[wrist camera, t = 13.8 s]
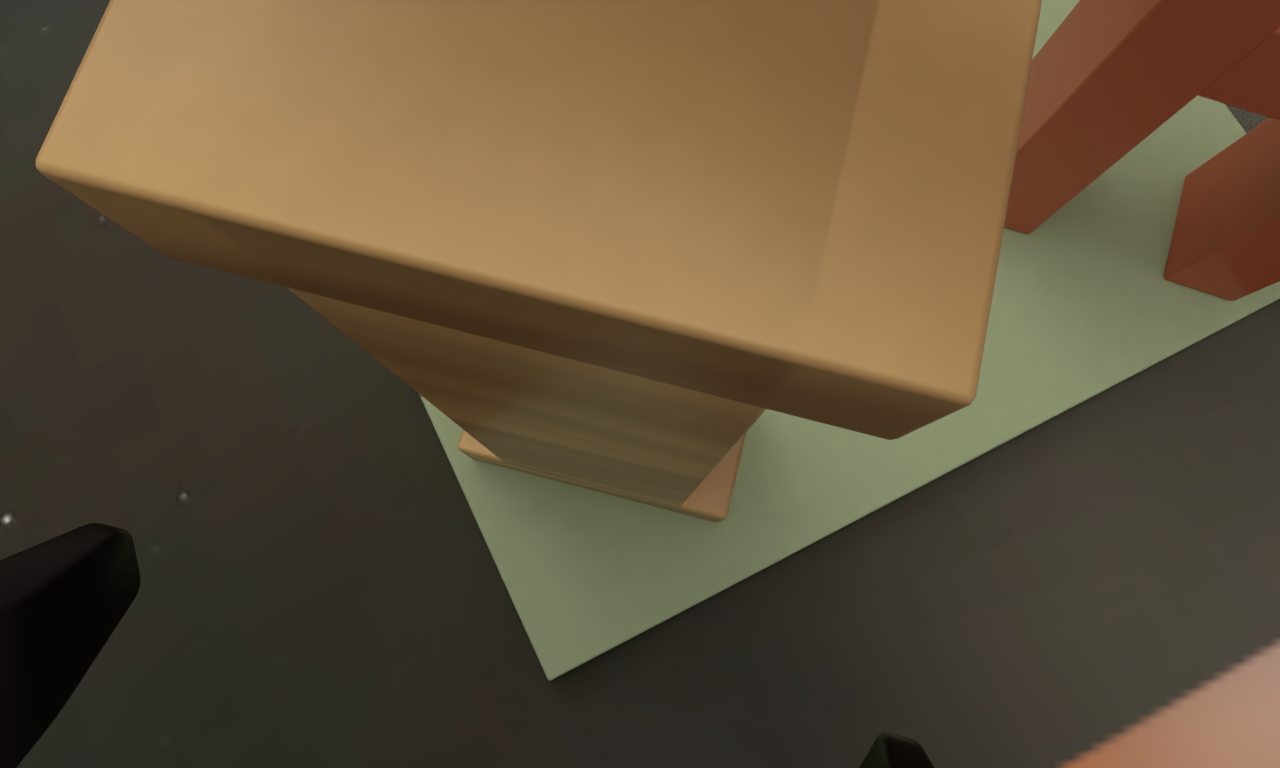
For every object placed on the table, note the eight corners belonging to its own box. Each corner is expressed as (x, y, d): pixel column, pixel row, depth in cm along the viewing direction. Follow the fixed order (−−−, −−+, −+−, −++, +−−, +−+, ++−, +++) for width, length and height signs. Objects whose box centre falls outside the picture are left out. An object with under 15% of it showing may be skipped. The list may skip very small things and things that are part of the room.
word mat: (1326, 272, 20) (1344, 265, 20) (550, 678, 18) (548, 682, 18) (1050, -110, 23) (1059, -125, 22) (335, 202, 20) (328, 193, 20)
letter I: (718, 523, 18) (980, 407, 5) (469, 458, 19) (25, 168, 5) (747, 400, 19) (1049, -20, 5) (506, 338, 19) (204, -210, 6)
